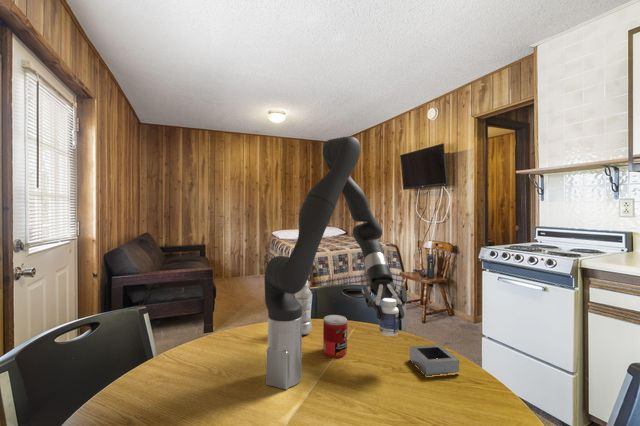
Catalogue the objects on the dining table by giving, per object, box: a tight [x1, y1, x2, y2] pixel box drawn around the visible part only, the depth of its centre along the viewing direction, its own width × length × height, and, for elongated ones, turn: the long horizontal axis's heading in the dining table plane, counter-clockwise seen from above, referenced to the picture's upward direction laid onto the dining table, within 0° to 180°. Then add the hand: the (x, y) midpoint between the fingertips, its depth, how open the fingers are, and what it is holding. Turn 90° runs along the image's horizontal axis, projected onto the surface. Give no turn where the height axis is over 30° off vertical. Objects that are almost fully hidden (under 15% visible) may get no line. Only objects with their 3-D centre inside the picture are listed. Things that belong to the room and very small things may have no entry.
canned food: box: [322, 314, 348, 359], centre depth 97 cm, size 8×8×11 cm
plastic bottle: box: [294, 279, 313, 336], centre depth 112 cm, size 6×7×20 cm
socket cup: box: [409, 344, 460, 376], centre depth 88 cm, size 10×10×4 cm
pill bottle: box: [379, 298, 400, 337], centre depth 87 cm, size 5×5×10 cm
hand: (391, 318), depth 85 cm, fingers closed on pill bottle, 5 cm apart
